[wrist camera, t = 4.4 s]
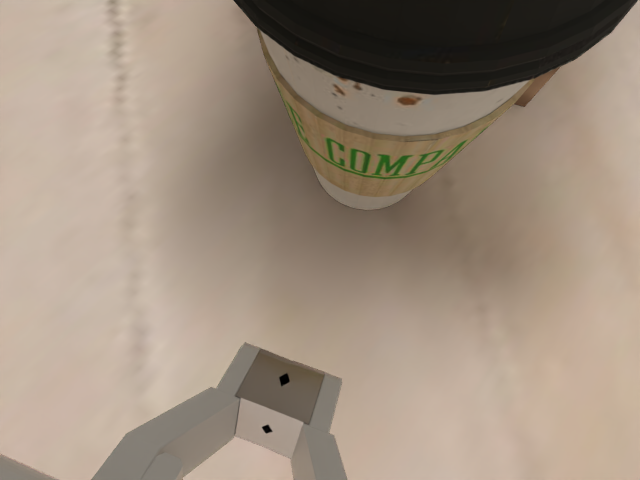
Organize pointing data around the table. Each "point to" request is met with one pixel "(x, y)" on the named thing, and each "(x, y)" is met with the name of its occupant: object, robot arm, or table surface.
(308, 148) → the coffee cup
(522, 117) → the table surface
